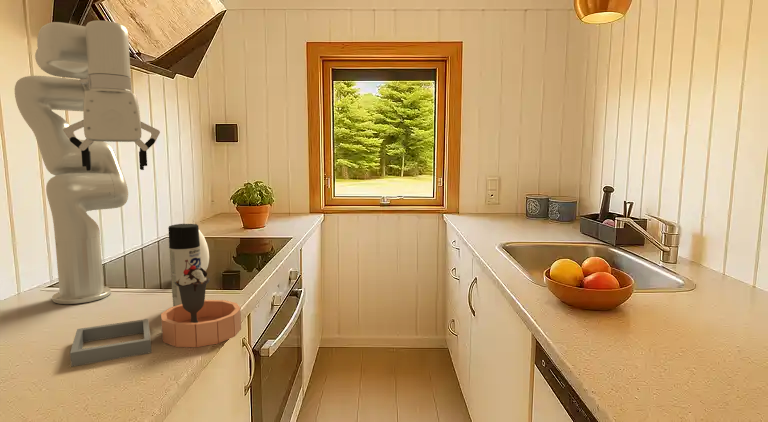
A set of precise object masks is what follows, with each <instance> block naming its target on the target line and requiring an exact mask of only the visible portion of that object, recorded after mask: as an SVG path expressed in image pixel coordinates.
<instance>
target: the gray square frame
mask: <svg viewBox="0 0 768 422" xmlns="http://www.w3.org/2000/svg"><path fill="white" fill-rule="evenodd" d="M150 330H151V329H150V322H149V318H144V319H137V320H131V321H130V320H129V321H124V322H116V323H109V324H103V325H95V326H89V327H83V328H77V329H76V332H75V336H74V338H73V343H72V345H71V349H70V352H69V357H70V367H77V366H83V365H84V366H85V365H88V364H89V365H90V364H93V363H94V364H95V363H100V362H106V361H110V360H111V361H113V360H119V359H123V358H128V357H133V356H140V355H141V356H142V355H145V354H150V353H151V354H152V344H151V343H152V341H151V333H150V332H151V331H150ZM137 334H143V339H142V338H141V339H135V340H129V341H123V342H118V343H117V342H116V343H111V344H105V345H98V346H92V347H87V348H84V343H86V342H93V341H99V340H107V339H112V338H118V337H125V336H130V335H131V336H132V335H137Z"/></svg>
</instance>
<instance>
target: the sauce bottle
mask: <svg viewBox="0 0 768 422" xmlns="http://www.w3.org/2000/svg"><path fill="white" fill-rule="evenodd" d="M192 224H195V218H194V217H192ZM199 241H200V257H201V268H203V269H204V270H205V271H206V272H207V269H208V267H209V265H210V251H209V246H208V243H207V241H206V238H205V236H204V233H202V232H201V230H200V229H199Z"/></svg>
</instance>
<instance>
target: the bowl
mask: <svg viewBox="0 0 768 422" xmlns="http://www.w3.org/2000/svg"><path fill="white" fill-rule="evenodd" d="M241 312H242V310H241V307H240V305H239V304H238V303H237V302H233V301H229V300H225V299H205V300H204V305H203V307H202V308H201V309H200V310H199V311H198V312H197V321H198V323H190V322H191V313H190V312H188V311H186V310H185V309H184V308H183V305H182V304H180V305H177V306H174V307H173V306H170V307H169V308H168V309H166V310H164V311H163V312H161V313H160V325H161V337H162V343H164V344H166V345H170V346H172V347H176V348H198V347H199V348H201V347H204V346H205V347H206V346H210V345H211V346H212V345H216V344H217V345H218V344H220V343H223V342H225V341H228V340H230V339H233V338H235V337H236V336H237V335H238V334H239V332H240V331H241V330H242V314H241Z"/></svg>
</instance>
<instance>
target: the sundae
mask: <svg viewBox="0 0 768 422" xmlns="http://www.w3.org/2000/svg"><path fill="white" fill-rule="evenodd" d="M185 262H186V268H187V262H188V260H185ZM188 263H189V262H188ZM189 264H190V263H189ZM190 265H191V264H190ZM186 268H185V270H184V272H183V273H184V274H183V275H182V276H181V277H180V279H179V280H178V281H176V282H175V284H176V285H177V286H178V287H179V291H180V296H181V301H182V305H183V308H184V309H185V310H186V311H188V312H190V313H191V322H190V323H198V321H197V312H198V311H199V310H200V309H201V308H202V307H203V305H204V300H206V299H205V298H206V289H207V284H209V282H210V280H211V279H210V278H209V277H208V272H207V270H206V271H205V270H204V269H203V268H200V269H199V268H196V266H194V265H191V266H190V268H189V269H186Z"/></svg>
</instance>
